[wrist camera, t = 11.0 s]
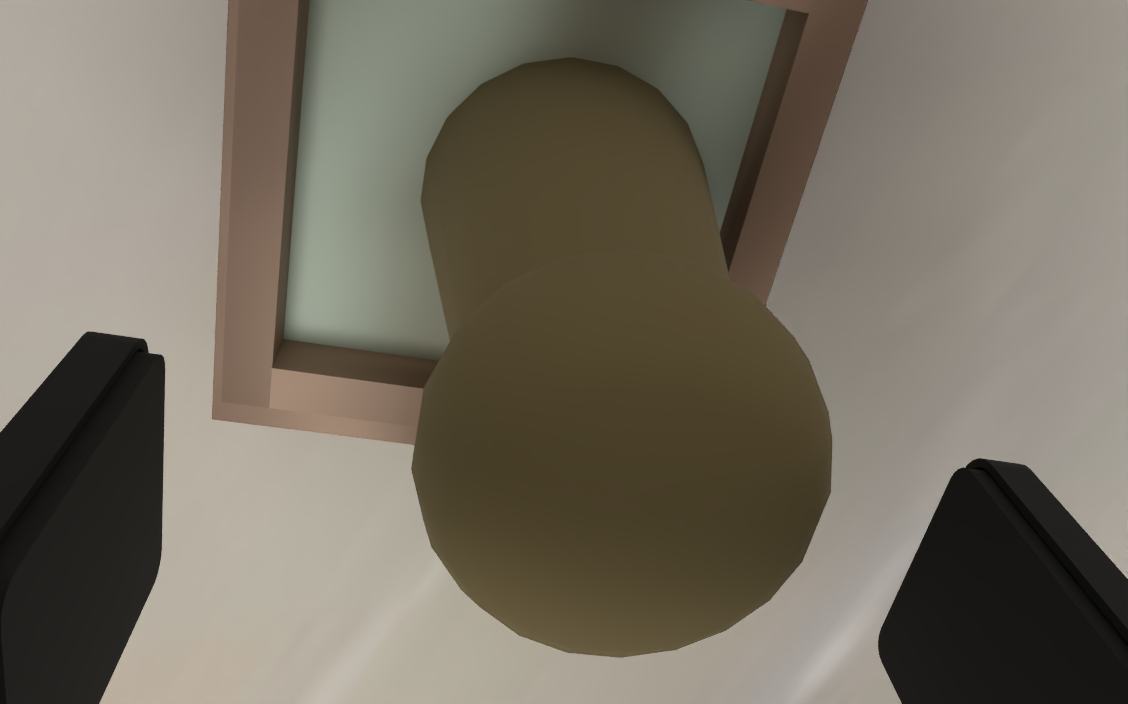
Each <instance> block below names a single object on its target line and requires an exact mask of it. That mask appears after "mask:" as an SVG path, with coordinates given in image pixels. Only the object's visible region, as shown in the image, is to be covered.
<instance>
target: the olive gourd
mask: <svg viewBox="0 0 1128 704" xmlns="http://www.w3.org/2000/svg"><path fill="white" fill-rule="evenodd" d="M420 202H421V207H422V212H423V217H424V222H425V227H426V232H427V237H428V242H429V247H430V252H431V256H432V261H433V266H434V270H435V275H436V280H437V284H438V289H439V293H440V298H441V303H442V307H443V312H444V317H445V321H446V326H447V331H448V335H449V340H450V342H449V344H448V346H447V347H446V349H445V351H444V353H443V354H442V356H441V358H440V360H439V362H438V363H437V365H436V367H435V369H434V370H433V372H432V374H431V376H430V377H429V379H428V381H427V383H426V384H425V386H424V388H423V395H422V401H421V408H420V414H419V421H418V427H417V433H416V440H415V447H414V454H413V461H412V474H413V478H414V482H415V486H416V491H417V495H418V499H419V503H420V508H421V512H422V516H423V520H424V524H425V527H426V530H427V534H428V537H429V540H430V543H431V547H432V548H433V550H434V551H435V553H436V554H437V556H438V557H439V559H440V560H441V561H442V563H443V564H444V566H445V567H446V569H447V570H448V571H449V573H450V574H451V576H452V577H453V579H454V580H455V582H456V583H457V584H458V586H459V587H460V589H461V590H462V591H463V592H464V593H465V594H466V595H467V596H468V597H470V598H471V599H472V600H473V601H474V602H475V603H476V604H477V605H478V606H479V607H481V608H482V609H483V610H485V611H486V612H488V613H489V614H490V615H492V616H493V617H494V618H496V619H497V620H499V621H500V622H501V623H503V624H504V625H505V626H507V627H508V628H510V629H511V630H512V631H514V632H515V633H516V634H518V635H519V636H522V637H525V638H528V639H530V640H533V641H536V642H539V643H542V644H545V645H547V646H550V647H553V648H556V649H559V650H562V651H564V652H567V653H577V654H588V655H599V656H610V657H628V656H635V655H642V654H649V653H657V652H664V651H671V650H676V649H679V648H681V647H684V646H686V645H689V644H692V643H694V642H697V641H700V640H702V639H705V638H707V637H710V636H713V635H715V634H718V633H721V632H723V631H726V630H727V629H729V628H730V627H731V626H733V625H734V624H736V623H737V622H739V621H740V620H742V619H743V618H745V617H746V616H747V615H749V614H750V613H752V612H753V611H755V610H756V609H758V608H759V607H761V606H762V605H763V604H765V603H766V602H768V601H769V600H770V599H771V598H772V597H773V595H774V594H775V593H776V592H777V591H778V590H779V588H780V587H781V586H782V585H783V584H784V582H785V581H786V580H787V579H788V578H789V577H790V575H791V574H792V573H793V572H794V571H795V569H796V568H797V567H798V566H799V565H800V564H801V562H802V560H803V558H804V556H805V553H806V551H807V548H808V546H809V544H810V541H811V539H812V536H813V534H814V532H815V529H816V527H817V524H818V522H819V519H820V517H821V514H822V512H823V510H824V507H825V505H826V502H827V500H828V497H829V495H830V493H831V465H832V434H831V427H830V420H829V412H828V409H827V407H826V404H825V401H824V399H823V396H822V394H821V391H820V388H819V386H818V383H817V380H816V378H815V375H814V372H813V370H812V367H811V364H810V362H809V359H808V358H807V356H806V355H805V353H804V352H803V350H802V349H801V347H800V346H799V344H798V343H797V341H796V340H795V338H794V337H793V336H792V335H791V334H790V332H789V331H788V330H787V329H786V328H785V327H784V326H783V325H782V324H781V323H780V322H779V320H778V319H777V318H776V317H775V316H774V315H773V314H772V313H771V312H770V311H769V310H768V308H767V307H766V306H765V305H764V304H763V303H762V302H761V301H760V300H759V299H758V298H757V297H756V295H754V294H753V293H751V292H749V291H747V290H746V289H744V288H742V287H740V286H739V285H737V284H735V283H733V282H732V281H730V277H729V273H728V269H727V264H726V260H725V256H724V251H723V247H722V242H721V238H720V234H719V229H718V225H717V220H716V216H715V212H714V207H713V203H712V199H711V194H710V190H709V185H708V181H707V177H706V172H705V168H704V164H703V161H702V158H701V156H700V153H699V151H698V148H697V146H696V143H695V141H694V138H693V136H692V133H691V130H690V128H689V125H688V123H687V122H686V121H685V119H684V118H683V117H682V116H681V115H680V114H679V113H678V111H677V110H676V109H675V108H674V107H673V106H672V104H671V103H670V102H669V101H668V100H667V99H666V97H665V96H664V95H663V94H662V93H661V92H660V91H659V89H657V88H655V87H654V86H652V85H650V84H648V83H647V82H645V81H643V80H642V79H640V78H638V77H636V76H635V75H633V74H631V73H629V72H628V71H626V70H624V69H622V68H621V67H619V66H615V65H610V64H605V63H600V62H594V61H589V60H584V59H579V58H574V57H568V58H561V59H553V60H546V61H538V62H530V63H524V64H522V65H519V66H517V67H515V68H513V69H511V70H509V71H507V72H505V73H503V74H501V75H499V76H497V77H495V78H493V79H491V80H489V81H487V82H484V83H482V84H481V85H479V86H478V87H477V88H476V89H475V90H474V91H473V92H472V93H471V94H470V95H469V96H468V97H467V98H466V99H465V100H464V101H463V102H462V103H461V104H460V105H459V106H458V107H457V108H456V109H455V110H454V111H453V112H452V113H451V114H450V115H449V116H448V117H447V118H446V120H445V122H444V124H443V126H442V128H441V130H440V132H439V134H438V136H437V138H436V140H435V142H434V144H433V146H432V148H431V150H430V152H429V154H428V156H427V158H426V165H425V172H424V179H423V186H422V194H421V201H420Z"/></svg>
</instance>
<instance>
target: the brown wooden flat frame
mask: <svg viewBox="0 0 1128 704" xmlns="http://www.w3.org/2000/svg"><path fill="white" fill-rule="evenodd" d="M867 2H868V0H228V23H227V48H226V74H225V99H224V124H223V150H222V175H221V201H220V226H219V252H218V277H217V303H216V328H215V354H214V379H213V405H212V419H214V420H222V421H230V422H238V423H246V424H254V425H262V426H270V427H278V428H286V429H294V430H302V431H310V432H318V433H325V434H333V435H341V436H349V437H357V438H365V439H373V440H381V441H389V442H397V443H405V444H413V445H415V440H416V433H417V427H418V421H419V414H420V408H421V401H422V395H423V388H424V386H425V384H426V383H427V381H428V379H429V377H430V376H431V374H432V372H433V370H434V369H435V367H436V365H437V363H438V362H439V360H440V358H441V356H442V354H443V353H444V351H445V349H446V347H447V346H448V344H449V342H450V340H449V335H448V331H447V326H446V321H445V317H444V312H443V307H442V303H441V298H440V293H439V289H438V284H437V280H436V275H435V270H434V266H433V261H432V256H431V252H430V247H429V242H428V237H427V232H426V227H425V222H424V217H423V212H422V207H421V202H420V201H421V194H422V186H423V179H424V172H425V165H426V158H427V156H428V154H429V152H430V150H431V148H432V146H433V144H434V142H435V140H436V138H437V136H438V134H439V132H440V130H441V128H442V126H443V124H444V122H445V120H446V118H447V117H448V116H449V115H450V114H451V113H452V112H453V111H454V110H455V109H456V108H457V107H458V106H459V105H460V104H461V103H462V102H463V101H464V100H465V99H466V98H467V97H468V96H469V95H470V94H471V93H472V92H473V91H474V90H475V89H476V88H477V87H478V86H479V85H481V84H482V83H484V82H487V81H489V80H491V79H493V78H495V77H497V76H499V75H501V74H503V73H505V72H507V71H509V70H511V69H513V68H515V67H517V66H519V65H522V64H524V63H530V62H538V61H546V60H553V59H561V58H568V57H574V58H579V59H584V60H589V61H594V62H600V63H605V64H610V65H615V66H619V67H621V68H622V69H624V70H626V71H628V72H629V73H631V74H633V75H635V76H636V77H638V78H640V79H642V80H643V81H645V82H647V83H648V84H650V85H652V86H654V87H655V88H657V89H659V91H660V92H661V93H662V94H663V95H664V96H665V97H666V99H667V100H668V101H669V102H670V103H671V104H672V106H673V107H674V108H675V109H676V110H677V111H678V113H679V114H680V115H681V116H682V117H683V118H684V119H685V121H686V122H687V123H688V125H689V128H690V130H691V133H692V136H693V138H694V141H695V143H696V146H697V148H698V151H699V153H700V156H701V158H702V161H703V164H704V168H705V172H706V177H707V181H708V185H709V190H710V194H711V199H712V203H713V207H714V212H715V216H716V220H717V225H718V229H719V234H720V238H721V242H722V247H723V251H724V256H725V260H726V264H727V269H728V273H729V277H730V281H732V282H733V283H735V284H737V285H739V286H740V287H742V288H744V289H746V290H747V291H749V292H751V293H753V294H754V295H756V297H757V298H758V299H759V300H760V301H761V302H762V303H763V304H764V305H765V304H766V301H767V298H768V295H769V293H770V290H771V287H772V284H773V281H774V278H775V275H776V272H777V269H778V266H779V263H780V260H781V257H782V254H783V251H784V248H785V245H786V242H787V239H788V236H789V233H790V230H791V227H792V224H793V221H794V218H795V215H796V212H797V209H798V206H799V203H800V201H801V198H802V195H803V192H804V189H805V186H806V183H807V180H808V177H809V174H810V171H811V168H812V165H813V162H814V159H815V156H816V153H817V150H818V147H819V144H820V141H821V138H822V135H823V132H824V129H825V126H826V123H827V120H828V117H829V114H830V111H831V109H832V106H833V103H834V100H835V97H836V94H837V91H838V88H839V85H840V82H841V79H842V76H843V73H844V70H845V67H846V64H847V61H848V58H849V55H850V52H851V49H852V46H853V43H854V40H855V37H856V34H857V31H858V28H859V25H860V22H861V19H862V17H863V14H864V11H865V8H866V5H867Z"/></svg>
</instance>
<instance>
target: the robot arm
mask: <svg viewBox="0 0 1128 704" xmlns="http://www.w3.org/2000/svg"><path fill="white" fill-rule="evenodd" d="M164 400H165V362H164V357H163V356H162V355H158V354H151V353H148V347H147V343H146V341H145V340H144V339H139V338H132V337H125V336H118V335H111V334H104V333H97V332H86V333H85V334H84V335H83V336H82V337H81V338H80V339H79V341H78V342H77V343H76V344H75V345H74V346H73V348H72V349H71V350H70V351H69V352H68V354H67V355H66V356H65V357H64V358H63V359H62V361H61V362H60V363H59V364H58V365H57V366H56V368H55V369H54V370H53V371H52V372H51V374H50V375H49V376H48V377H47V378H46V379H45V381H44V382H43V383H42V384H41V385H40V387H39V388H38V389H37V390H36V391H35V392H34V394H33V395H32V396H31V397H30V398H29V399H28V401H27V402H26V403H25V404H24V405H23V407H22V408H21V409H20V410H19V411H18V412H17V414H16V415H15V416H14V417H13V418H12V420H11V421H10V422H9V423H8V424H7V425H6V427H5V428H4V429H3V430H2V431H1V432H0V704H99V703H100V700H101V698H102V696H103V694H104V692H105V690H106V687H107V685H108V683H109V681H110V679H111V677H112V674H113V672H114V670H115V668H116V666H117V664H118V661H119V659H120V657H121V655H122V653H123V650H124V648H125V646H126V644H127V642H128V640H129V637H130V635H131V633H132V631H133V629H134V627H135V624H136V622H137V620H138V618H139V616H140V614H141V611H142V609H143V607H144V605H145V603H146V601H147V598H148V596H149V594H150V592H151V590H152V588H153V585H154V583H155V580H156V577H157V574H158V570H159V565H160V560H161V550H162V504H163V452H164ZM878 649H879V655H880V658H881V661H882V664H883V666H884V668H885V670H886V672H887V674H888V676H889V678H890V680H891V682H892V684H893V686H894V688H895V690H896V692H897V694H898V696H899V698H900V700H901V703H902V704H1128V579H1127V578H1126V577H1125V576H1124V575H1123V573H1122V572H1121V571H1120V570H1119V569H1118V568H1117V567H1116V565H1115V564H1114V563H1113V562H1112V561H1111V560H1110V559H1109V558H1108V556H1107V555H1106V554H1105V553H1104V552H1103V551H1102V550H1101V549H1100V547H1099V546H1098V545H1097V544H1096V543H1095V542H1094V541H1093V539H1092V538H1091V537H1090V536H1089V535H1088V534H1087V533H1086V532H1085V530H1084V529H1083V528H1082V527H1081V526H1080V525H1079V524H1078V523H1077V521H1076V520H1075V519H1074V518H1073V517H1072V516H1071V515H1070V513H1069V512H1068V511H1067V510H1066V509H1065V508H1064V507H1063V506H1062V504H1061V503H1060V502H1059V501H1058V500H1057V499H1056V498H1055V497H1054V495H1053V494H1052V493H1051V492H1050V491H1049V490H1048V489H1047V487H1046V486H1045V485H1044V484H1043V483H1042V482H1041V481H1040V480H1039V478H1038V477H1037V476H1036V475H1035V474H1034V473H1033V472H1032V470H1030V469H1029V468H1028V467H1027V466H1025V465H1021V464H1016V463H1009V462H1002V461H995V460H988V459H981V458H979V459H975V460H973V461H971V462H970V463H969V464H968V465H967V466H966V468H960V469H958V470H957V471H956V472H955V473H954V474H953V476H952V477H951V479H950V481H949V483H948V485H947V488H946V490H945V492H944V494H943V496H942V498H941V501H940V503H939V505H938V507H937V509H936V511H935V513H934V516H933V518H932V520H931V522H930V524H929V526H928V529H927V531H926V533H925V535H924V537H923V539H922V541H921V544H920V546H919V548H918V550H917V552H916V554H915V557H914V559H913V561H912V563H911V565H910V567H909V569H908V572H907V574H906V576H905V578H904V580H903V582H902V585H901V587H900V589H899V591H898V593H897V595H896V597H895V600H894V602H893V604H892V606H891V608H890V610H889V613H888V615H887V617H886V619H885V621H884V623H883V626H882V628H881V631H880V634H879V640H878Z"/></svg>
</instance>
